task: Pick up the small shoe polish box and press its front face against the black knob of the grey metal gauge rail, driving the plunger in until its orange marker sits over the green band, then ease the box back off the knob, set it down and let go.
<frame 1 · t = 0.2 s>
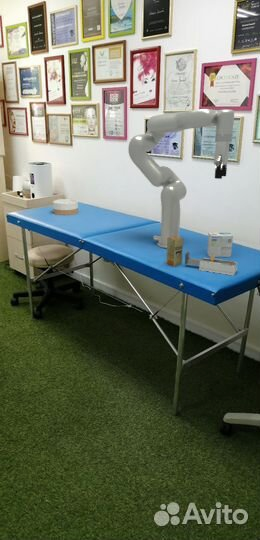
hand: (220, 177, 188), 36 cm above the table, tool pointing down, fingers open, 9 cm apart
light bulb box: (218, 255, 196), on the table
bowl: (66, 213, 284), on the table
shoe polish box: (174, 264, 183), on the table
gauge rail: (217, 270, 175), on the table
plunger: (199, 259, 177), point 4 cm above the table, slide at 0.0 cm
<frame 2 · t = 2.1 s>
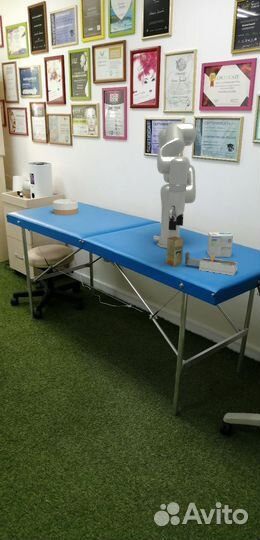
hand: (175, 227, 177), 17 cm above the table, tool pointing down, fingers open, 9 cm apart
nothing on the table moved.
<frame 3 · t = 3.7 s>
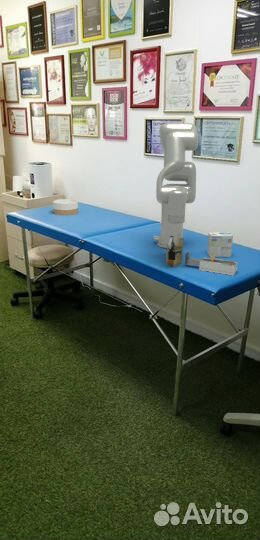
hand: (174, 257, 182), 3 cm above the table, tool pointing down, fingers closed on shoe polish box, 6 cm apart
shoe polish box: (173, 264, 183), on the table, touching gripper
everything else where it was.
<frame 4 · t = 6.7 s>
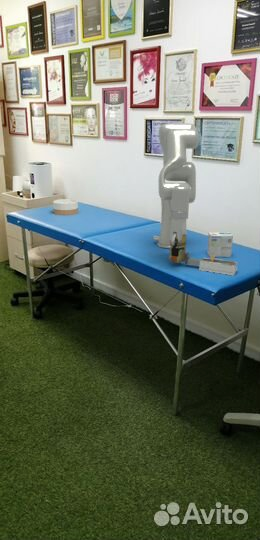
hand: (177, 253, 181), 5 cm above the table, tool pointing down, fingers closed on shoe polish box, 6 cm apart
shoe polish box: (177, 260, 182), point 2 cm above the table, touching gripper
everything else where it was.
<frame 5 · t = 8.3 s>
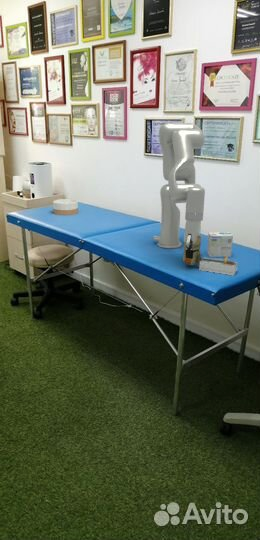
hand: (191, 255, 178), 5 cm above the table, tool pointing down, fingers closed on shoe polish box, 6 cm apart
shoe polish box: (191, 262, 179), point 2 cm above the table, touching gripper, plunger
plunger: (212, 261, 175), point 4 cm above the table, slide at 5.7 cm, touching shoe polish box
everything else where it was.
when the fingers open (3 cm above the table, at t = 10.0 s): shoe polish box stays where it is, on the table.
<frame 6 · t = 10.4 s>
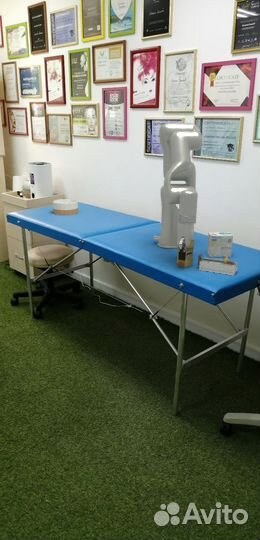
hand: (185, 256, 179), 4 cm above the table, tool pointing down, fingers open, 9 cm apart
shoe polish box: (184, 265, 181), on the table
plunger: (212, 261, 175), point 4 cm above the table, slide at 5.7 cm
everything else where it was.
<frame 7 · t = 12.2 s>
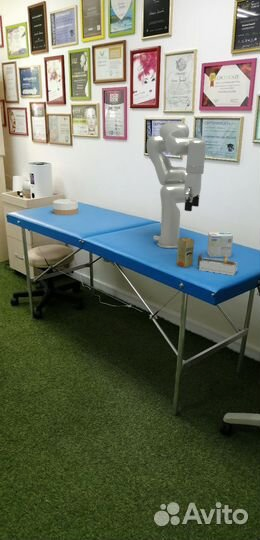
hand: (191, 208, 181), 24 cm above the table, tool pointing down, fingers open, 9 cm apart
nothing on the table moved.
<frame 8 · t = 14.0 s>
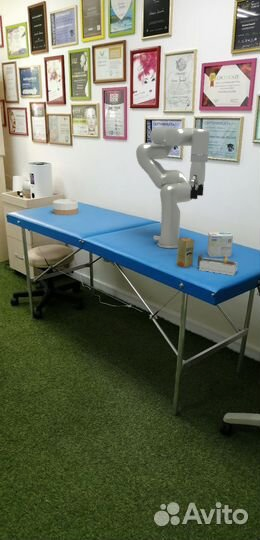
hand: (196, 197, 184), 28 cm above the table, tool pointing down, fingers open, 9 cm apart
nothing on the table moved.
at the end: plunger slide at 5.7 cm; the gripper is holding nothing; shoe polish box tilted 0° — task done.
